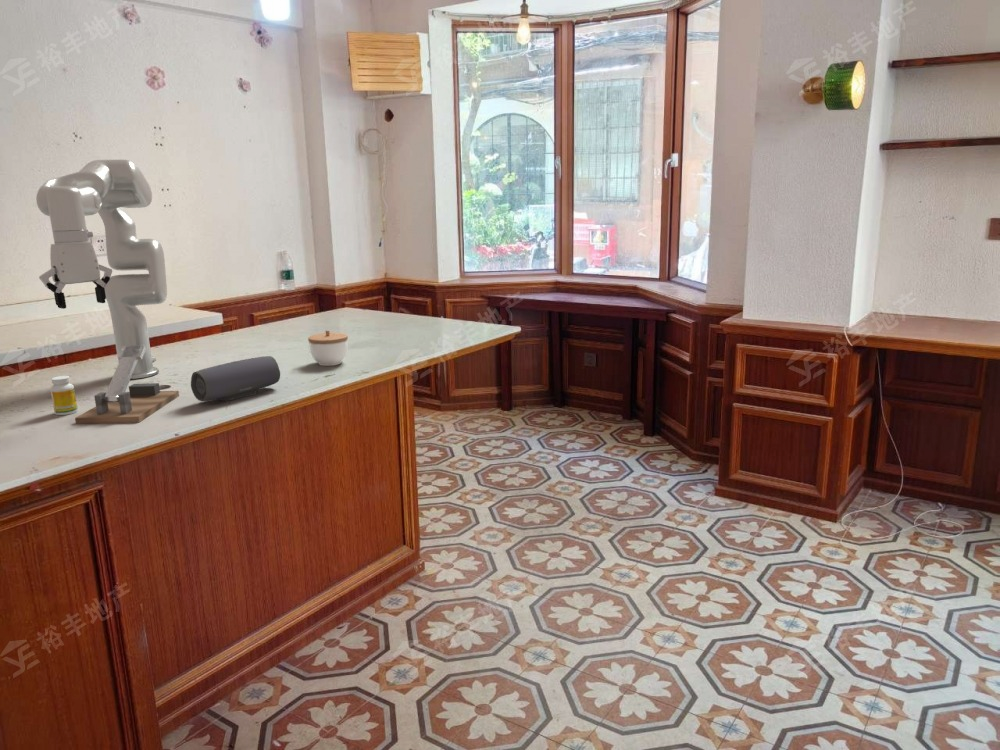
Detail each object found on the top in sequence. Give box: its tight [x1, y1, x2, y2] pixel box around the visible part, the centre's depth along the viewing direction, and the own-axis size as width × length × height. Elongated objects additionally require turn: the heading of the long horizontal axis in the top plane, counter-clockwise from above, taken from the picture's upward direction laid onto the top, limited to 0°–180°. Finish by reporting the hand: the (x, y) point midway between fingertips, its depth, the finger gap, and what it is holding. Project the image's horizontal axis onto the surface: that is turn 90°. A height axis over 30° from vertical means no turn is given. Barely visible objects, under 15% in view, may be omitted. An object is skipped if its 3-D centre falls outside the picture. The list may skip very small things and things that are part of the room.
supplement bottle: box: [50, 375, 79, 416], centre depth 193 cm, size 5×5×10 cm
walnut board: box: [74, 390, 180, 425], centre depth 196 cm, size 24×16×6 cm, turn 0°
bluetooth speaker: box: [190, 355, 281, 402], centre depth 205 cm, size 23×9×10 cm, turn 141°
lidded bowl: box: [307, 329, 349, 367], centre depth 242 cm, size 13×13×11 cm
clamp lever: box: [103, 346, 146, 403], centre depth 193 cm, size 19×6×2 cm
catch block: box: [128, 382, 161, 396], centre depth 205 cm, size 3×7×3 cm, turn 91°
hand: (82, 305), depth 189 cm, fingers open, 9 cm apart
